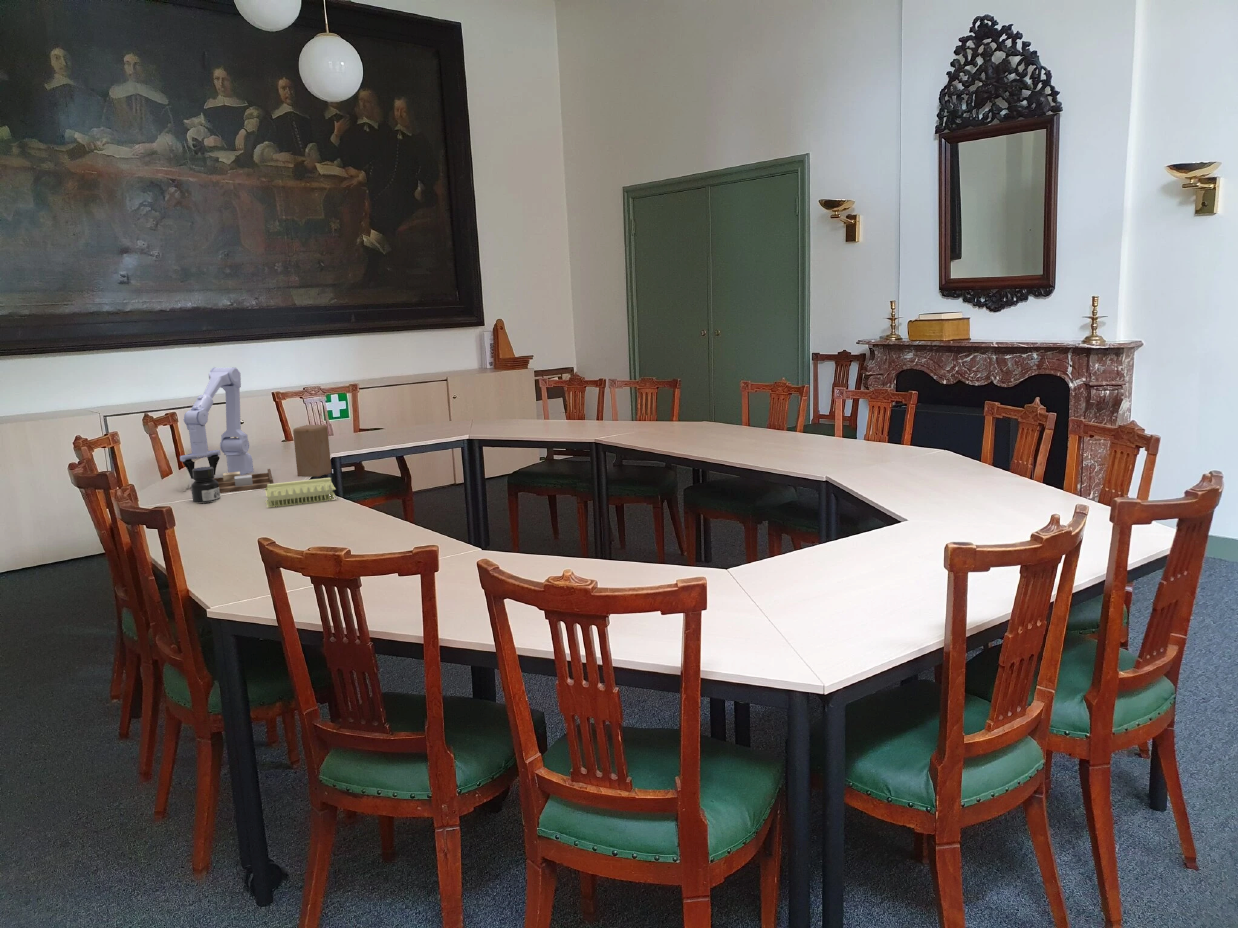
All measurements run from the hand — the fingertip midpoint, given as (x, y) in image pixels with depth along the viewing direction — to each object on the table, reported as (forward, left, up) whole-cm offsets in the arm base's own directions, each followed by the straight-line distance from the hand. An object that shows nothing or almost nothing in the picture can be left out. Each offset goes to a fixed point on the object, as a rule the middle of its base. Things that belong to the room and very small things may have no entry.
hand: (203, 476), depth 332 cm
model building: (+7, +52, -5) cm, 53 cm away
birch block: (-3, +6, -3) cm, 7 cm away
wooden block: (-29, +27, -5) cm, 41 cm away
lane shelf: (-4, +12, -4) cm, 14 cm away
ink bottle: (+18, +19, -5) cm, 27 cm away
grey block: (-2, +18, -4) cm, 18 cm away
